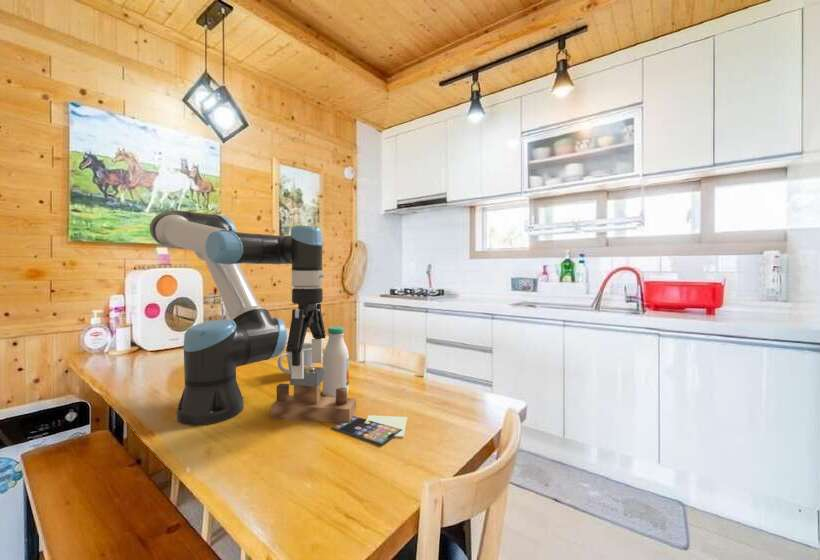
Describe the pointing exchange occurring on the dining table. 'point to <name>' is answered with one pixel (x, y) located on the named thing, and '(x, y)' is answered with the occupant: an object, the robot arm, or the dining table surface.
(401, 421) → the thin cream card
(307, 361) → the mug
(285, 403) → the wooden peg board
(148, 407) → the dining table surface
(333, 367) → the milk bottle
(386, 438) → the smartphone
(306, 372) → the lever cap
